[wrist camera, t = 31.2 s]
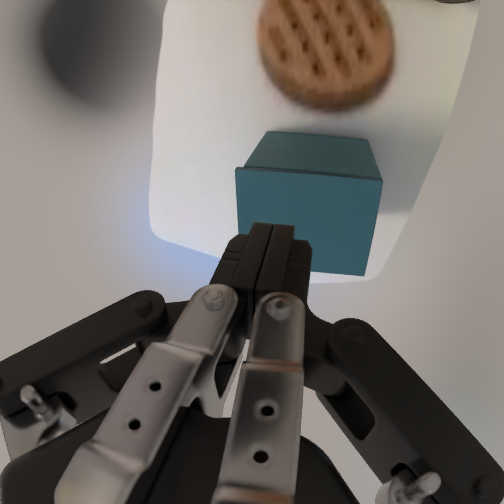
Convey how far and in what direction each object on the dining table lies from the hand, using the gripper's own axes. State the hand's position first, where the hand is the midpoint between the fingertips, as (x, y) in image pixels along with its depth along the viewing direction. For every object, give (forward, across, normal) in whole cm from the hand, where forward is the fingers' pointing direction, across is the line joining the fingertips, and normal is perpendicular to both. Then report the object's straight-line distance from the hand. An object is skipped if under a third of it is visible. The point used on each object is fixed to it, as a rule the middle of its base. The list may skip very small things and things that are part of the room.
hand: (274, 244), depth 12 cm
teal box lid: (+19, 0, +11) cm, 22 cm away
